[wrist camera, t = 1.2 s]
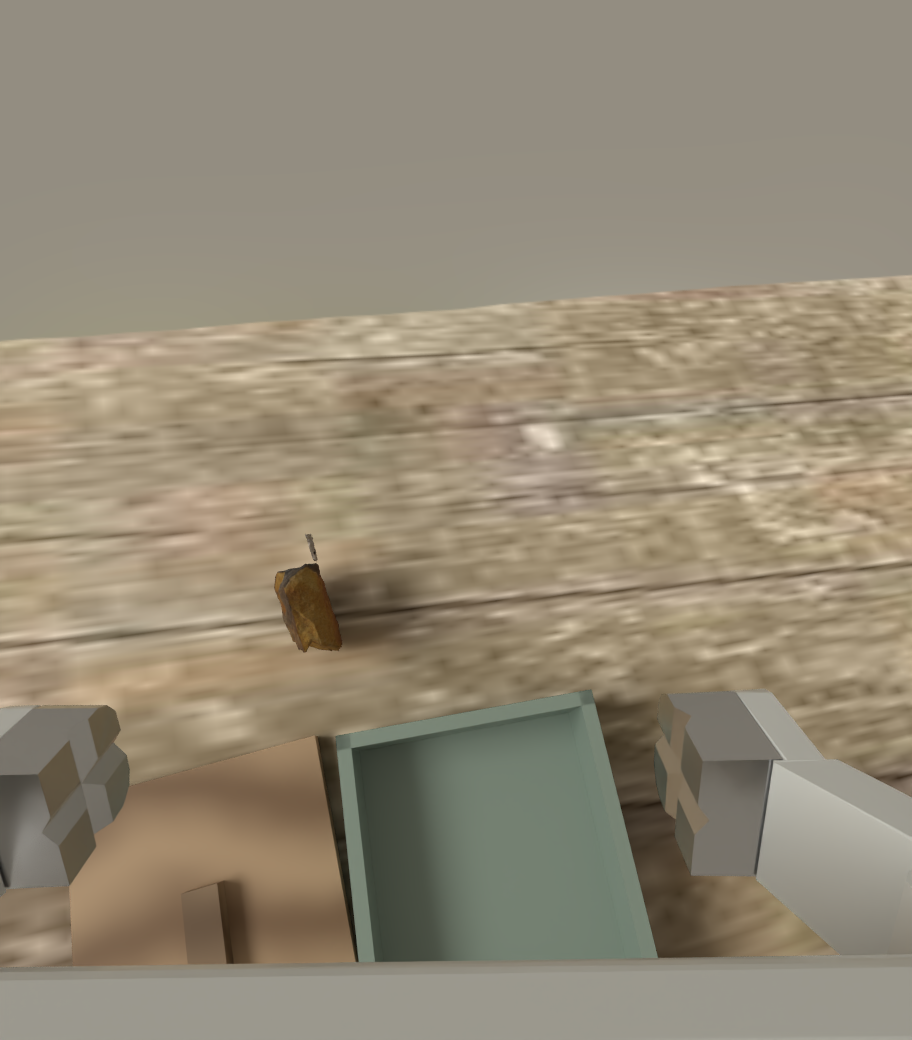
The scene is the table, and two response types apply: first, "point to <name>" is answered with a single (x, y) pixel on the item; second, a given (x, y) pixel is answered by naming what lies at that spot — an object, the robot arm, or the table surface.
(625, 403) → the table surface
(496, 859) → the bin
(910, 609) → the table surface
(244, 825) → the lid
